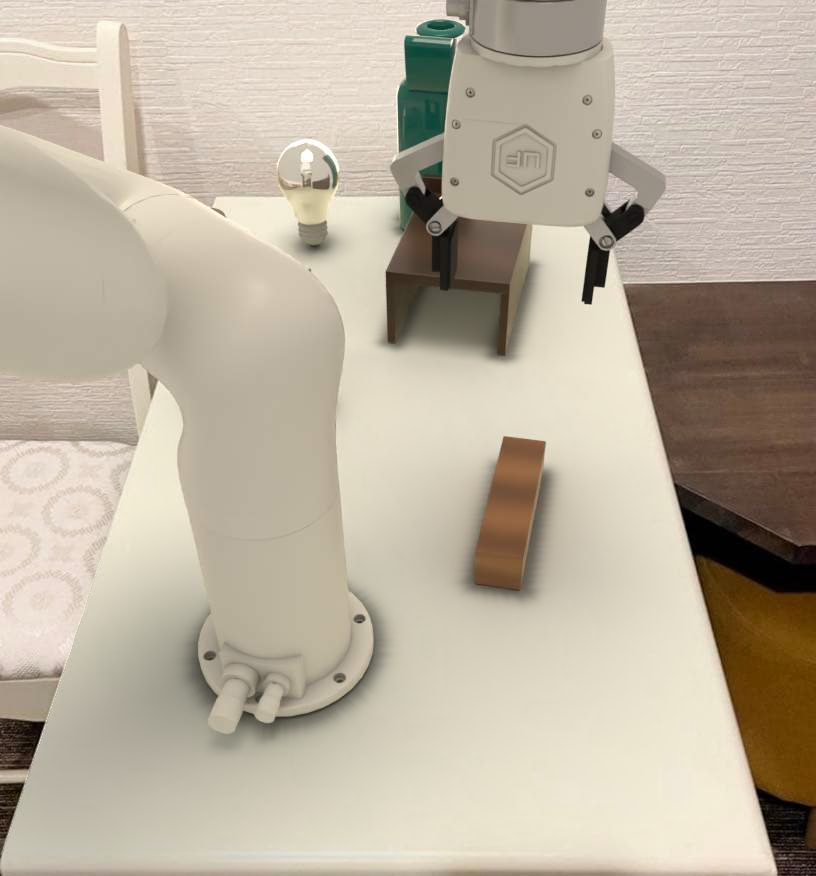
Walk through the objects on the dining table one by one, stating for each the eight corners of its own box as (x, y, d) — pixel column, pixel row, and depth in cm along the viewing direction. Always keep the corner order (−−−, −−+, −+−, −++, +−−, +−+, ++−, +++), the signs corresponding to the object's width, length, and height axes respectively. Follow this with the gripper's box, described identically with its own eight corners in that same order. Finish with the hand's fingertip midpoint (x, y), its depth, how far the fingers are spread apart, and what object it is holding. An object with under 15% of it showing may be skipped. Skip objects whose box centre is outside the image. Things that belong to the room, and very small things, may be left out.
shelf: (505, 355, 98) (510, 268, 91) (387, 342, 100) (384, 255, 93) (529, 265, 110) (535, 182, 104) (424, 255, 112) (423, 173, 106)
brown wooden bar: (520, 590, 76) (523, 557, 73) (473, 583, 76) (475, 550, 74) (542, 473, 85) (546, 440, 83) (501, 467, 86) (503, 435, 83)
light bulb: (349, 255, 113) (342, 151, 104) (288, 263, 112) (276, 158, 103) (339, 227, 117) (332, 125, 109) (280, 234, 116) (269, 132, 108)
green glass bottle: (414, 200, 122) (412, 6, 107) (481, 208, 120) (489, 12, 105) (392, 237, 115) (386, 36, 100) (462, 246, 114) (468, 43, 98)
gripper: (374, 30, 55) (382, 304, 67) (694, 49, 52) (643, 329, 64) (401, -10, 60) (405, 250, 72) (693, 4, 57) (646, 271, 69)
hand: (517, 287), depth 68 cm, fingers open, 9 cm apart
